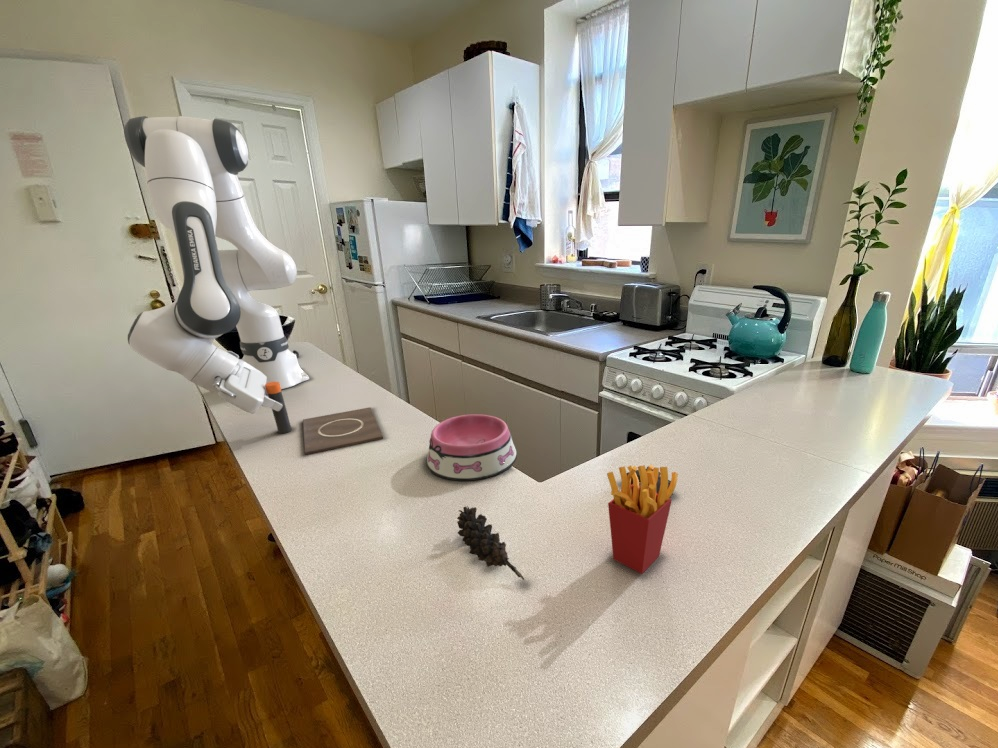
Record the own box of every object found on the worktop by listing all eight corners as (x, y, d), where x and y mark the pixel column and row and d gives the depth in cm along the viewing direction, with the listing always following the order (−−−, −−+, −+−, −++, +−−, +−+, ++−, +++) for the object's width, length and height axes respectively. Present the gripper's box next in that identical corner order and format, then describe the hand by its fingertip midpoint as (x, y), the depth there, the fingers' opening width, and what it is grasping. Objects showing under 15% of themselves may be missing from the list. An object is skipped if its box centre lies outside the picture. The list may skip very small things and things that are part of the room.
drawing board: (303, 421, 115) (302, 418, 115) (370, 409, 122) (370, 406, 122) (305, 455, 99) (304, 451, 99) (383, 438, 106) (382, 435, 105)
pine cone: (447, 533, 74) (444, 505, 72) (476, 521, 76) (473, 494, 74) (499, 601, 61) (496, 569, 58) (532, 584, 63) (530, 554, 61)
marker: (278, 430, 111) (265, 382, 106) (291, 427, 112) (279, 380, 107) (278, 434, 108) (264, 386, 104) (292, 432, 110) (279, 384, 105)
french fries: (644, 581, 63) (651, 487, 57) (595, 555, 68) (597, 467, 62) (674, 548, 70) (684, 461, 64) (627, 526, 75) (632, 443, 69)
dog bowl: (534, 461, 95) (533, 431, 92) (451, 492, 85) (447, 459, 82) (489, 431, 108) (487, 404, 106) (413, 454, 98) (408, 425, 95)
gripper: (221, 373, 91) (289, 409, 100) (232, 349, 108) (289, 381, 116) (201, 398, 91) (271, 432, 99) (215, 370, 108) (274, 401, 116)
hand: (281, 405), depth 108 cm, fingers closed on marker, 3 cm apart
